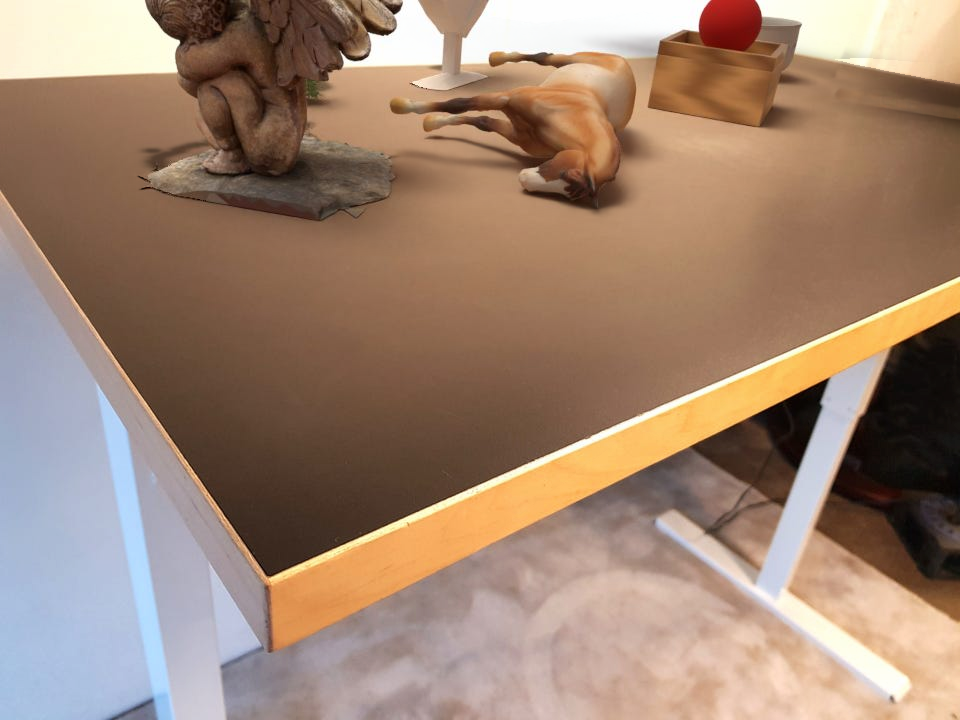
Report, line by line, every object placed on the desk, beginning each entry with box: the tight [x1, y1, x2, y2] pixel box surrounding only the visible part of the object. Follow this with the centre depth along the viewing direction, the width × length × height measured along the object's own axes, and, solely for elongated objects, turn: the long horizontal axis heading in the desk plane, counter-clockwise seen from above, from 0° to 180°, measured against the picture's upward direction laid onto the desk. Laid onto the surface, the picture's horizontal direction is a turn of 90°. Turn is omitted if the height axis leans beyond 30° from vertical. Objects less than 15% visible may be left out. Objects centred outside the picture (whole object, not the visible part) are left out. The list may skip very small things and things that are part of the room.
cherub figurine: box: [144, 0, 404, 222], centre depth 58 cm, size 18×18×18 cm
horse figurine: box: [389, 51, 637, 209], centre depth 74 cm, size 31×8×21 cm
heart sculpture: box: [411, 0, 490, 91], centre depth 94 cm, size 16×5×18 cm, turn 153°
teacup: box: [756, 16, 803, 73], centre depth 119 cm, size 14×11×8 cm
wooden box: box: [647, 29, 788, 128], centre depth 95 cm, size 13×13×8 cm
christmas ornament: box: [698, 0, 763, 52], centre depth 92 cm, size 7×7×10 cm
